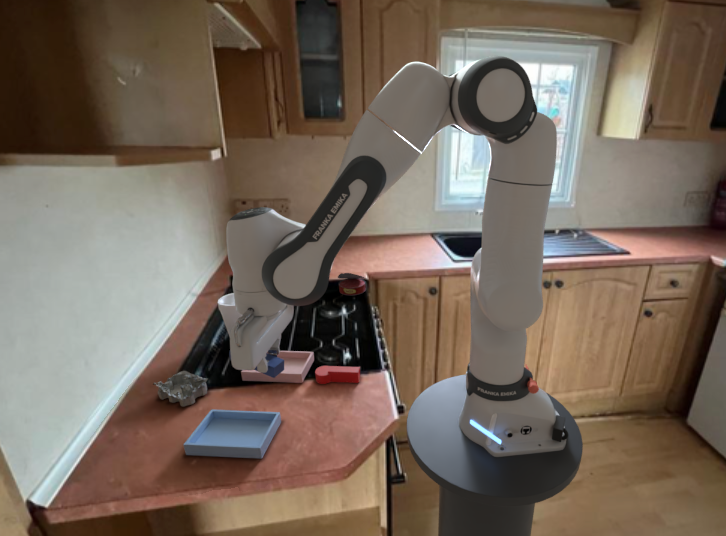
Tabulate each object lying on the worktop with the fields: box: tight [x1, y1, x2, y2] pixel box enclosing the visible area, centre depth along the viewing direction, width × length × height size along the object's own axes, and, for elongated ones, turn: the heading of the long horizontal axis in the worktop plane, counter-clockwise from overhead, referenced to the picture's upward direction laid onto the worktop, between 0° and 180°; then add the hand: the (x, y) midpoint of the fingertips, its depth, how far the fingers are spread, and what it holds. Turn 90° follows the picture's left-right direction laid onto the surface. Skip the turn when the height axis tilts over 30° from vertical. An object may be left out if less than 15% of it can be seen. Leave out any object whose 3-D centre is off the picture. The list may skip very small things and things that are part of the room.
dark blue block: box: [228, 350, 284, 378], centre depth 80 cm, size 11×4×3 cm
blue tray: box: [183, 408, 282, 460], centre depth 84 cm, size 15×10×3 cm
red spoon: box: [314, 365, 361, 385], centre depth 102 cm, size 11×4×3 cm, turn 86°
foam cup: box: [217, 292, 242, 338], centre depth 119 cm, size 10×9×13 cm
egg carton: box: [152, 370, 209, 408], centre depth 96 cm, size 11×8×4 cm
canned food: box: [337, 272, 367, 296], centre depth 154 cm, size 11×10×10 cm
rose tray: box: [240, 350, 315, 384], centre depth 106 cm, size 15×10×3 cm
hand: (269, 362), depth 79 cm, fingers closed on dark blue block, 4 cm apart
